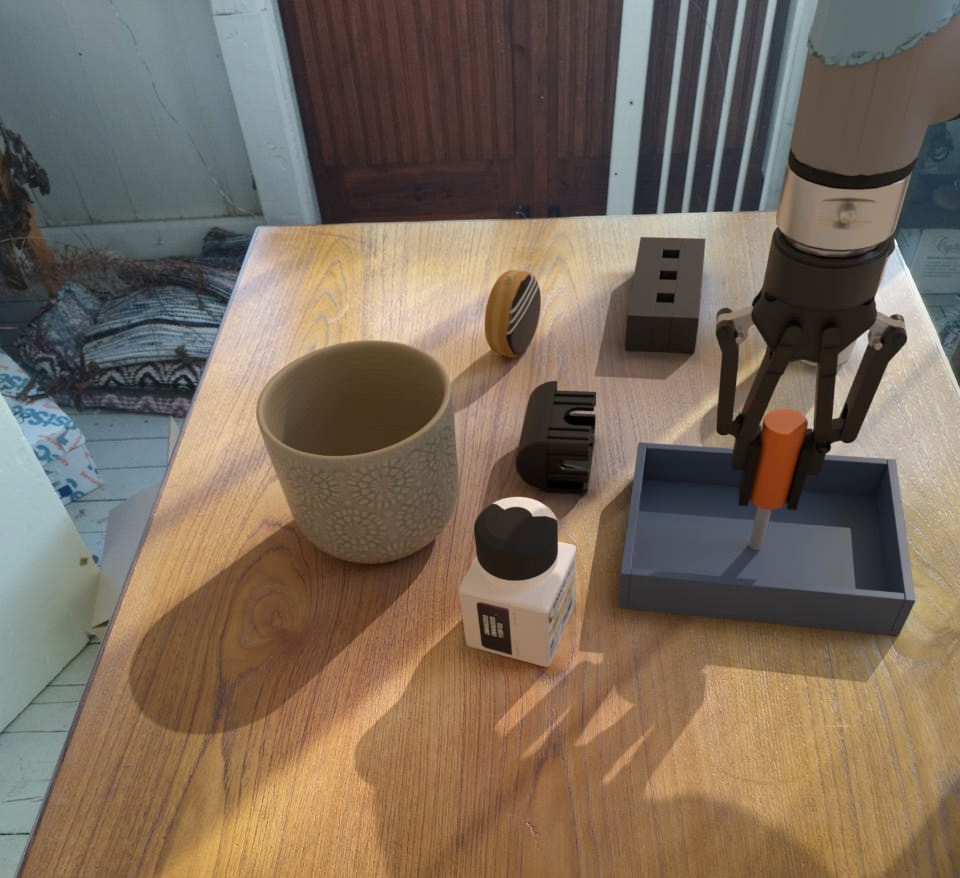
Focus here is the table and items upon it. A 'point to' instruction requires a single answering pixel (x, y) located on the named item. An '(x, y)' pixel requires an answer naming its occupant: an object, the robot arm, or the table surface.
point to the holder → (666, 295)
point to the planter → (364, 447)
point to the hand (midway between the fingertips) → (767, 496)
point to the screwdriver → (775, 466)
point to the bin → (767, 544)
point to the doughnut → (512, 313)
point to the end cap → (557, 440)
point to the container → (518, 582)
